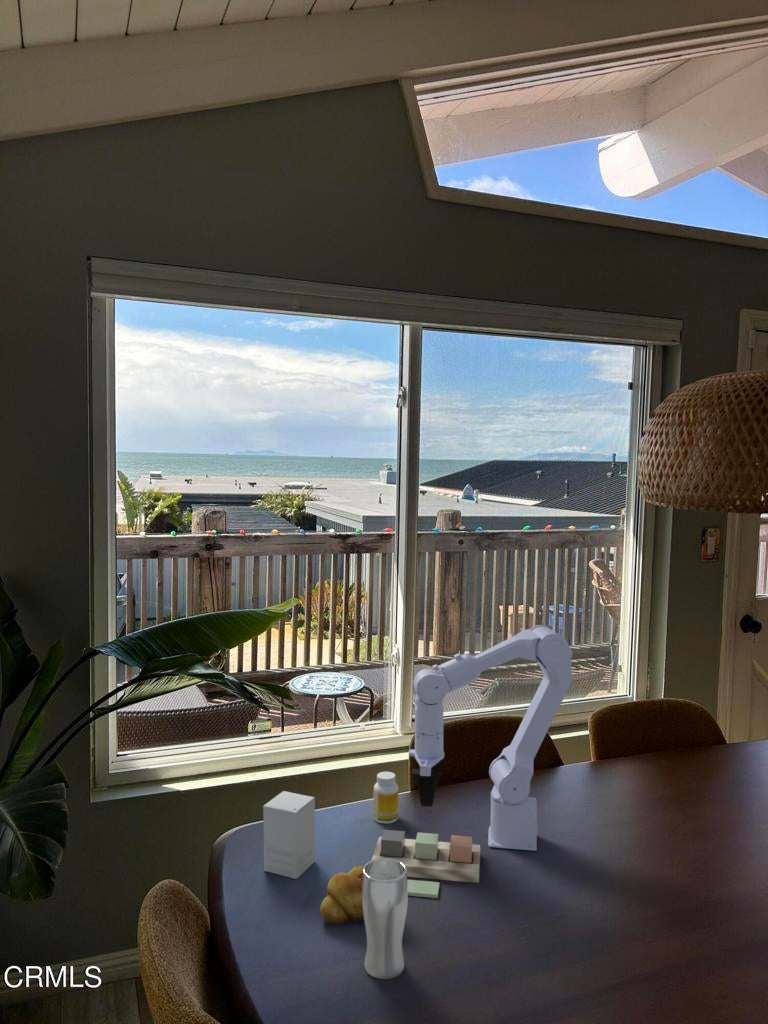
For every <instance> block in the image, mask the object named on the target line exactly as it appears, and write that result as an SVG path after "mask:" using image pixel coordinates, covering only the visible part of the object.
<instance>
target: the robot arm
mask: <svg viewBox="0 0 768 1024" xmlns="http://www.w3.org/2000/svg"><path fill="white" fill-rule="evenodd" d="M573 654H574V653H573V650H572V648H571V647H570V645H569V643H568V640H567V639H566V638H565V637H564V636H562V635H561V634H559V633H557V632H556V631H554V630H553V629H552V628H551V627H549V626H548V625H545V624H537V625H534V626H533V627H531V628H527V629H523V630H521V631H519V632H518V633H516V634H515V635H513V636H511V637H509V638H506V639H505V640H504V641H501V642H499V643H497V644H496V645H494V646H491V647H490V648H488V649H486V650H483V651H482V652H480V653H478V654H476V655H470V654H468V653H463V654H461V653H460V652H458V653H456V654H454V655H453V658H452V659H450V660H448V661H446V662H443V663H441V664H439V665H438V664H437V663H436V664H434V665H432V668H423V669H421V670H420V671H418V672H417V673H416V675H414V677H413V678H414V679H413V681H412V686H413V689H414V691H415V693H416V694H415V706H414V749H413V748H412V749H409V751H408V756H409V757H414V759H415V760H416V762H417V764H418V765H419V768H412V771H411V775H412V776H411V777H412V778H413V780H414V782H415V785H416V786H417V787H416V788H417V791H418V797H419V800H420V805H421V806H422V807H433V804H434V799H435V793H436V790H437V787H438V783H439V780H440V779H441V776H442V772H441V771H440V769H441V767H442V763H443V761H444V759H445V756H446V753H445V750H444V707H443V700H444V699H445V697H446V695H447V694H449V693H452V692H454V691H456V690H459V689H461V688H463V687H466V686H467V685H469V684H470V685H471V684H472V683H474V682H477V681H478V680H479V678H480V676H481V674H482V672H483V671H486V670H488V669H491V668H494V667H496V666H499V665H502V664H505V663H507V662H509V661H512V660H515V659H518V658H521V659H525V660H528V661H529V660H530V661H532V662H536V660H537V662H538V665H539V668H540V670H541V673H542V674H543V677H542V680H541V681H540V683H539V685H538V687H537V689H536V691H535V694H534V697H533V698H532V700H531V702H530V704H529V705H528V708H527V710H526V712H525V714H524V716H523V718H522V721H521V722H520V724H519V727H518V729H517V730H516V733H515V734H514V736H513V739H512V740H511V742H510V744H509V745H508V746H506V747H504V748H503V749H502V751H501V753H500V755H498V757H496V758H495V759H493V760H492V762H491V763H490V765H489V770H488V774H489V778H490V779H491V781H492V782H493V787H492V790H491V791H490V825H489V826H488V834H487V835H488V838H487V839H488V840H487V844H488V845H487V846H488V847H489V848H495V849H496V848H498V849H508V850H510V849H511V850H512V849H513V850H524V851H532V852H533V851H535V852H536V851H537V841H538V840H537V839H538V835H539V826H538V803H537V798H536V797H531V796H529V794H530V791H531V780H532V778H533V776H534V760H535V758H536V756H537V754H538V752H539V750H540V747H541V745H542V743H543V741H544V739H545V737H546V735H547V733H548V731H549V729H550V727H551V725H552V723H553V721H554V719H555V717H556V715H557V713H558V711H559V709H560V707H561V705H562V702H563V701H564V699H565V697H566V694H567V692H568V690H569V688H570V686H571V684H572V681H573V669H572V668H573V667H572V656H573Z"/></svg>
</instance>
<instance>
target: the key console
mask: <svg viewBox="0 0 768 1024" xmlns="http://www.w3.org/2000/svg"><path fill="white" fill-rule="evenodd" d="M381 839H382V836H378V839H377V843H376V845H375V848H374V851H373V855H372V857H371V860H374V859H378V858H391V859H396V860H398V861H400V862H402V863H403V864H404V865H405V866H406V869H407V878H418V879H420V878H421V879H430V880H441V881H453V882H462V883H464V882H465V883H473V884H479V883H480V867H481V866H480V865H481V845H480V844H475V843H474V844H473V843H472V860H471V863H465V862H454V861H450V842H449V841H438V853H437V859H436V860H430V859H419V858H415V842H416V839H412V838H405V847H404V851H403V855H402V857H396V856H384V855H381Z"/></svg>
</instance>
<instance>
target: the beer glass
mask: <svg viewBox="0 0 768 1024" xmlns="http://www.w3.org/2000/svg"><path fill="white" fill-rule="evenodd" d="M363 866H364V867H363V879H362V912H363V918H364V921H363V923H364V929H365V936H366V951H365V954H364V955H365V956H364V963H363V966H364V971H365V972H366V973H367V974H368V975H369V976H370V977H372V978H373V979H374V978H375V979H378V980H391V979H394V978H397V977H398V976H400V975H401V974H402V973H403V971H404V970H405V958H404V952H403V935H404V929H405V926H406V925H405V924H406V918H407V913H408V901H409V896H408V885H407V879H408V877H407V869H406V866H405V865H404V864H403V863H402V862H400V861H398V860H396V859H391V858H378V859H374V860H372V859H371V860H369V861H367V862H366V863H365V864H364V865H363Z"/></svg>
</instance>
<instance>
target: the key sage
mask: <svg viewBox="0 0 768 1024" xmlns="http://www.w3.org/2000/svg"><path fill="white" fill-rule="evenodd" d="M415 840H416V842H415V858H416V859H421V860H432V861H437V860H438V859H437V853H438V842H439V833H430V832H429V833H428V832H417V834H416V838H415Z"/></svg>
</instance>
